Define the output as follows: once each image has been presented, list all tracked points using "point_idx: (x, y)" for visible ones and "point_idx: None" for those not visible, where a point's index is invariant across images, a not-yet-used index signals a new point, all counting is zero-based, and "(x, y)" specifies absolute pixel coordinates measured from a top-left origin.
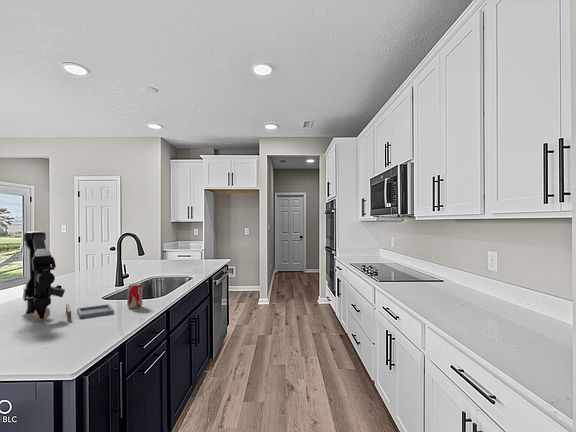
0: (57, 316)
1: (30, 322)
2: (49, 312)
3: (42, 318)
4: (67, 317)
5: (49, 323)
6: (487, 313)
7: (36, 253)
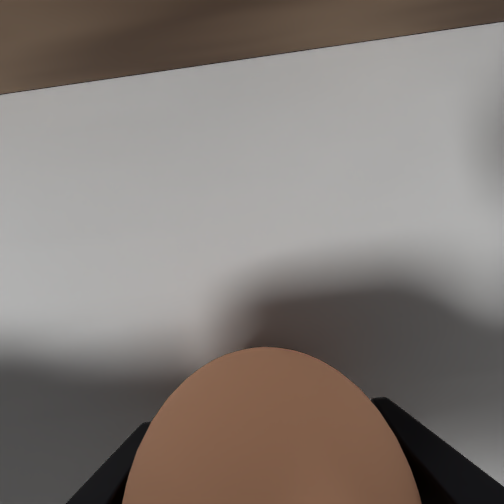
0: (120, 222)
1: None
2: (321, 388)
3: (387, 408)
4: (451, 11)
5: (500, 282)
6: None
7: None
